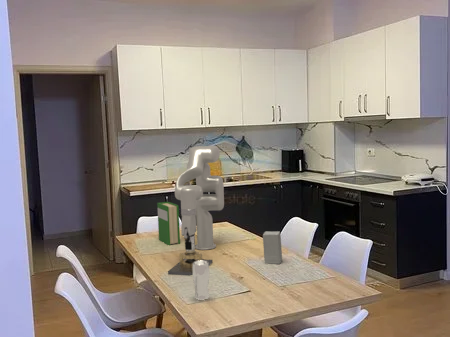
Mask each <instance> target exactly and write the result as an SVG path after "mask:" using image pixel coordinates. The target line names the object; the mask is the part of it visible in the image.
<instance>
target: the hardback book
mask: <svg viewBox="0 0 450 337" xmlns="http://www.w3.org/2000/svg"><path fill="white" fill-rule="evenodd" d="M156 205H157V224H158V225H157V226H158V229H157V230H158V241H160V242H162V243H163V242H164V244H165V245H167V246H168V245H170V246H171V245H174V244H178V245H180V244H181V236H180V234H181V232H180V231H181V230H180V209H179V205H178V204H176V203H173V202H169V201H164V202H163V201H162V202H157V203H156Z"/></svg>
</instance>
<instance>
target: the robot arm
mask: <svg viewBox="0 0 450 337" xmlns="http://www.w3.org/2000/svg"><path fill="white" fill-rule="evenodd" d="M188 153H189V155H188V160H187V168H186V169H185V170H184V171H183V172H182V173H181V174H179V176H178V178H177V179H176V182H175V187H174V197H175V198H176V200H178V201H180V214H181V228H180V229H181V230H180V231H181V232H180V234H181V236H182V237H183V239H184V247H185V251H186V250H191V249H192V242H191V235H193V232H194V243H195V249H196V250H199V251H207V250H214V249H215V248H216V247H217V244H216V243H214V226H213V216H212V214H211V213H210V211H222V210H223V209H224V207H225V196H224V195H225V193H224V191H225V189H224V180H223V177H222V176H220V175H211V166H210V165H209V163H210V164H211V163H213V164H214V163H215V162H218V160H219V158H220V155H221V154H220V149H219V147H218V146H217V145H207V146H205V145H202V146H201V145H200V146H198V145H197V146H193V147H191V148H189V152H188ZM193 180H195V183H196V185H193V184H192V185H188V184H187V183H188V182H189V181H193ZM185 184H187V185H185ZM205 193H206V194H205ZM208 193H209V194H208ZM210 193H211V194H210ZM213 193H215V194H213ZM187 234H189V236H187ZM195 235H196V236H195ZM188 237H189V238H188ZM196 241H197V242H196Z"/></svg>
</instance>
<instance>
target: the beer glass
mask: <svg viewBox="0 0 450 337" xmlns="http://www.w3.org/2000/svg"><path fill="white" fill-rule="evenodd" d="M192 273H193V276H192V280H193V285H194V291H195V292H194V299H195V298H196V299H198V300H204V299H208V298H209V299H210V294H209V281H210V266H209V262H208V261H204V260H199V261H195V262H193V269H192ZM209 299H208V300H209ZM198 300H197V301H198ZM204 301H205V300H204Z"/></svg>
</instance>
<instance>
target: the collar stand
mask: <svg viewBox="0 0 450 337" xmlns="http://www.w3.org/2000/svg"><path fill="white" fill-rule="evenodd" d="M194 258H195V261H199V260H204V261H208V262H209V267H210V266H211V265H212V264H213V259H207V258H205V259H204V258H202V253H199V252H198V251H195V255H186V251H185V252H180V253H179V262H177V264H175V265H174V266H173V267H171V268H170V269H169V270H168V271H167V274H168V275H174V276H176V275H177V276H190V275H193V273H192V269H193V262H192V263H189V262H186V259H194Z"/></svg>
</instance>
